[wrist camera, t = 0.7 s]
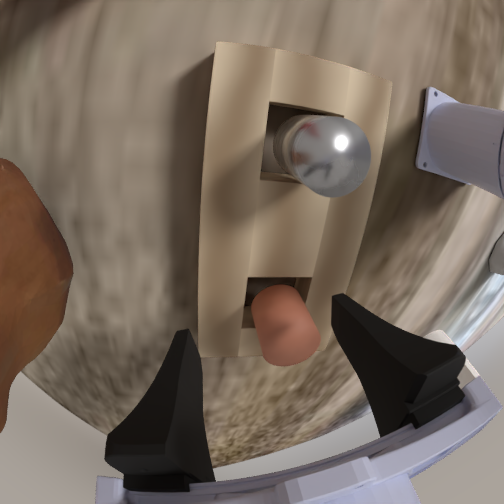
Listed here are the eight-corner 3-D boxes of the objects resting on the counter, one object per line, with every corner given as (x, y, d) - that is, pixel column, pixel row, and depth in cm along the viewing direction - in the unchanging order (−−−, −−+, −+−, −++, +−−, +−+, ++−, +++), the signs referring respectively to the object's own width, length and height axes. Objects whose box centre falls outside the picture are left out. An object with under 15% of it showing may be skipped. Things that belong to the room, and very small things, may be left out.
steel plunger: (337, 121, 16) (376, 126, 12) (328, 180, 18) (362, 201, 14) (277, 109, 15) (302, 109, 11) (269, 173, 17) (290, 193, 13)
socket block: (370, 83, 18) (392, 82, 15) (315, 330, 28) (324, 350, 26) (214, 52, 15) (216, 41, 13) (197, 334, 26) (198, 357, 23)
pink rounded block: (305, 284, 21) (327, 322, 17) (295, 323, 23) (312, 363, 19) (254, 284, 20) (267, 326, 16) (248, 325, 22) (258, 368, 18)
